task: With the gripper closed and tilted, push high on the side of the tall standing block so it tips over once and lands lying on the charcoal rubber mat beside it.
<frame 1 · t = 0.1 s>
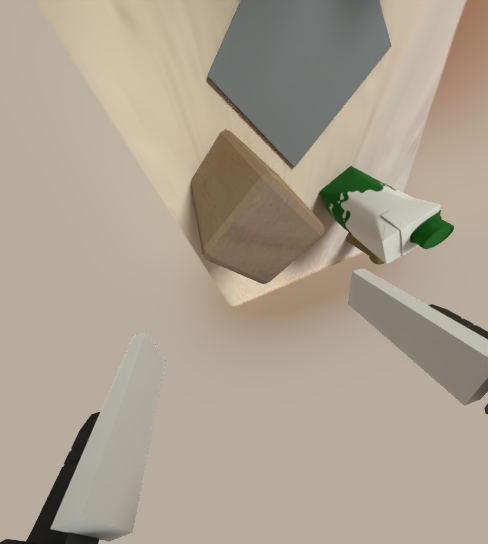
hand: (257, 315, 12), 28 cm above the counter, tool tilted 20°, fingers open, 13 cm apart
olive peg figure: (356, 233, 51), on the counter
milk carton: (338, 190, 40), on the counter
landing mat: (302, 60, 24), on the counter
block: (228, 175, 32), on the counter
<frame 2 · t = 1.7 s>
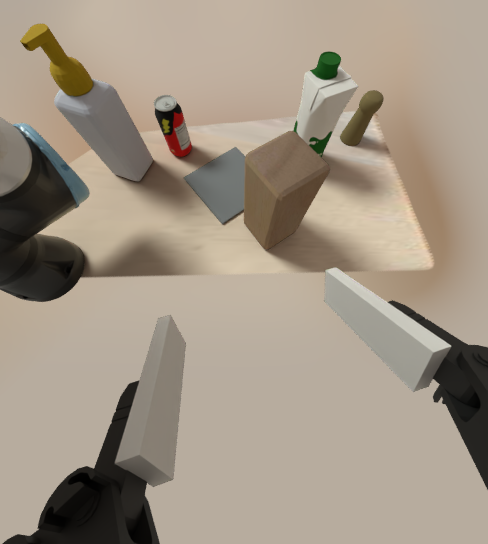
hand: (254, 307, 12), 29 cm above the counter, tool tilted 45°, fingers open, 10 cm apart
olive peg figure: (349, 138, 55), on the counter
beverage can: (182, 151, 54), on the counter
soap bottle: (134, 167, 52), on the counter
milk carton: (302, 159, 53), on the counter
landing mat: (229, 183, 50), on the counter
block: (269, 227, 47), on the counter
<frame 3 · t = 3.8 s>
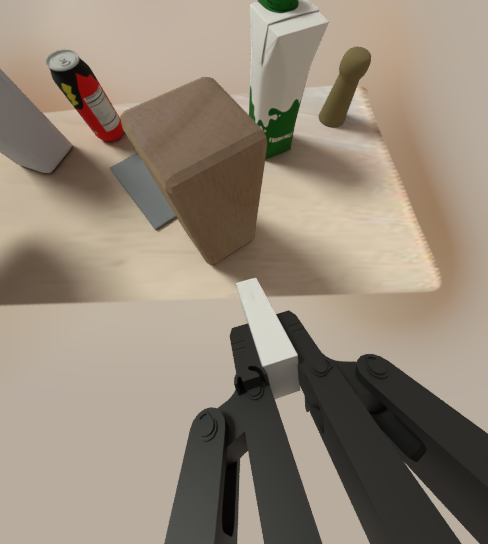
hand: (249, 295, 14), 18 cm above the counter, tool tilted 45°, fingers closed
olive peg figure: (331, 118, 43), on the counter
beverage can: (113, 134, 41), on the counter
soap bottle: (47, 155, 39), on the counter
milk carton: (268, 144, 41), on the counter
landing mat: (170, 175, 38), on the counter
block: (219, 234, 35), on the counter
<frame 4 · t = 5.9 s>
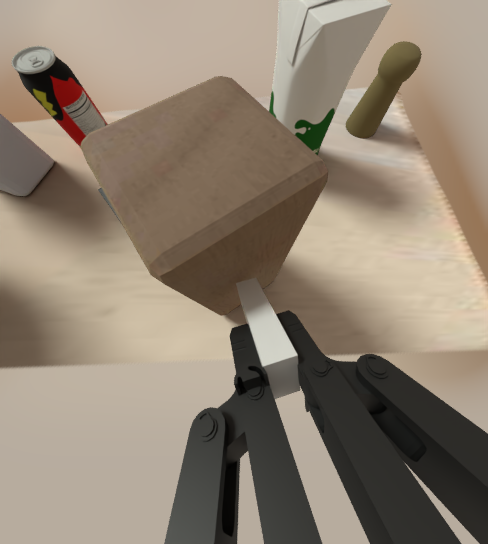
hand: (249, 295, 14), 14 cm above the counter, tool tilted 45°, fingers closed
olive peg figure: (360, 127, 37), on the counter
beverage can: (103, 147, 35), on the counter
soap bottle: (25, 174, 33), on the counter
milk carton: (288, 159, 34), on the counter
block: (231, 272, 28), on the counter, touching gripper
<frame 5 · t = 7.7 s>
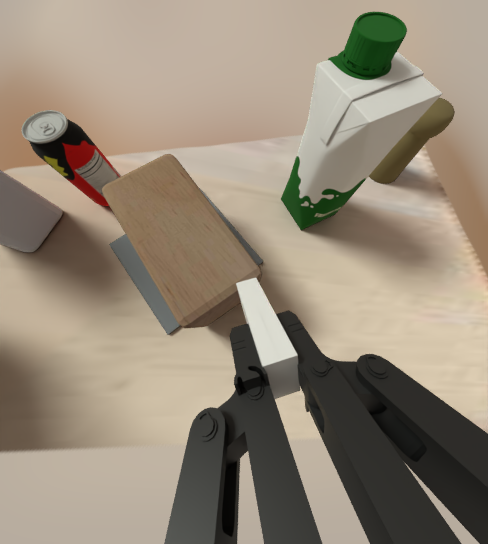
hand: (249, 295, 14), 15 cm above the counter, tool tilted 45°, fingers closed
olive peg figure: (380, 171, 35), on the counter
beverage can: (113, 195, 33), on the counter
soap bottle: (32, 225, 32), on the counter
milk carton: (306, 208, 33), on the counter
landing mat: (186, 253, 30), on the counter
block: (230, 307, 22), point 5 cm above the counter, touching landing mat
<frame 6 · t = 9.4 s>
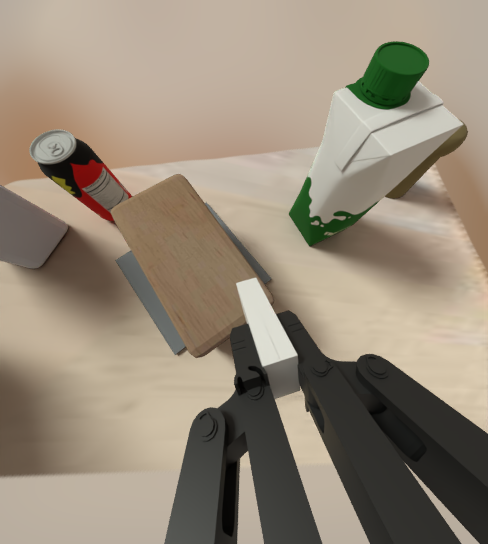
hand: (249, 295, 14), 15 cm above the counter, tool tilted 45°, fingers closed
olive peg figure: (389, 185, 35), on the counter
beverage can: (119, 208, 33), on the counter
soap bottle: (37, 240, 31), on the counter
milk carton: (314, 223, 33), on the counter
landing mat: (193, 270, 30), on the counter
block: (240, 331, 22), point 5 cm above the counter, touching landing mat
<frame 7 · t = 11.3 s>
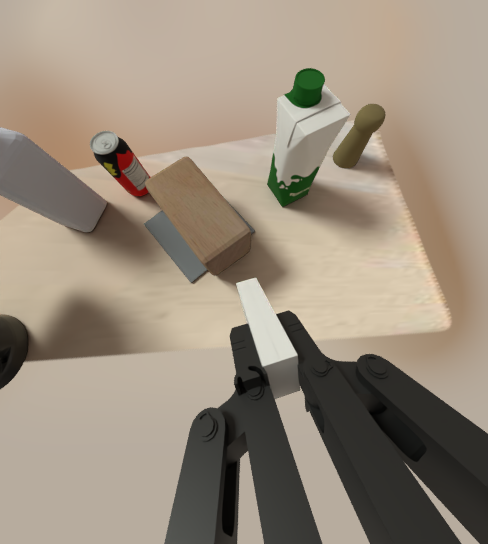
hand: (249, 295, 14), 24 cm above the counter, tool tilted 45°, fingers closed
olive peg figure: (344, 158, 45), on the counter
beverage can: (142, 187, 45), on the counter
soap bottle: (86, 213, 43), on the counter
milk carton: (286, 190, 44), on the counter
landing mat: (199, 228, 42), on the counter
block: (232, 258, 34), point 5 cm above the counter, touching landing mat
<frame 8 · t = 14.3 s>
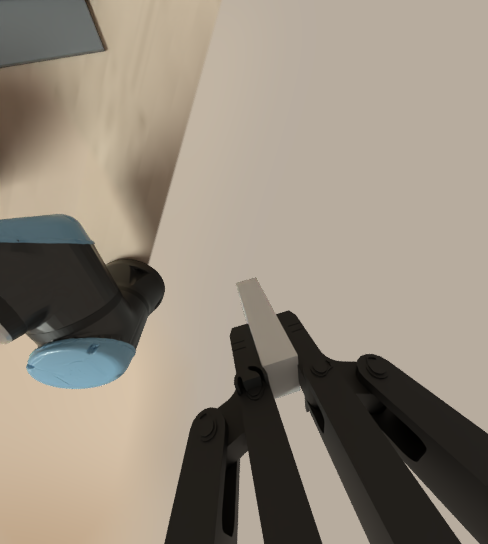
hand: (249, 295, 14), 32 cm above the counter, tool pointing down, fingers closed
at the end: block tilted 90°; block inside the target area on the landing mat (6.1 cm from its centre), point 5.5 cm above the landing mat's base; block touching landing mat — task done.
